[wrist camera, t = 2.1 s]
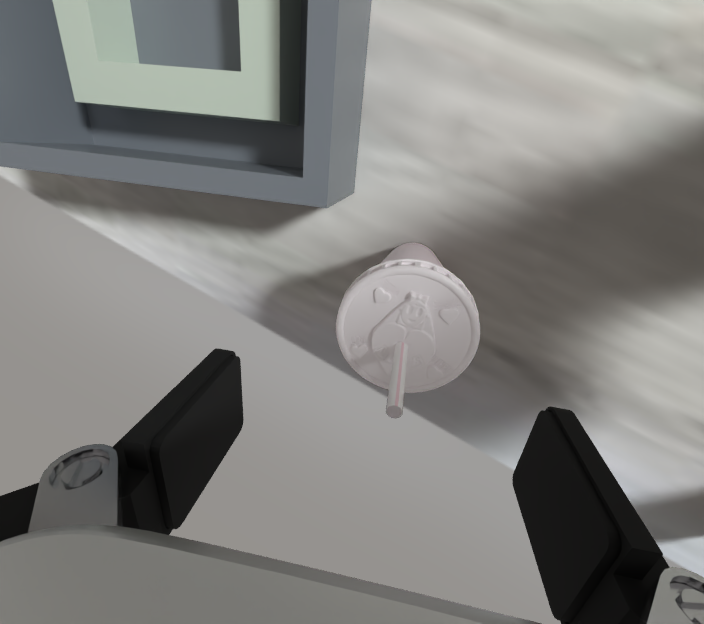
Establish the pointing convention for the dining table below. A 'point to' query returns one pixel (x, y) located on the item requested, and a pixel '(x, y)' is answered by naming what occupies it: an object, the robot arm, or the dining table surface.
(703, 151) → the dining table surface
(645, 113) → the dining table surface
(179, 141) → the bin
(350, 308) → the smoothie
